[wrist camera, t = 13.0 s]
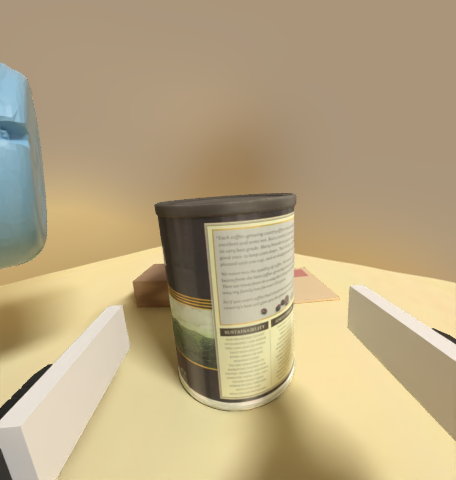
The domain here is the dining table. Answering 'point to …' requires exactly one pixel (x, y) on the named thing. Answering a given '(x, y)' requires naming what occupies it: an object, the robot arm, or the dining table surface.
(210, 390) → the coffee can
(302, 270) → the letter
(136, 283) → the walnut block
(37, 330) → the dining table surface
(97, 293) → the dining table surface
